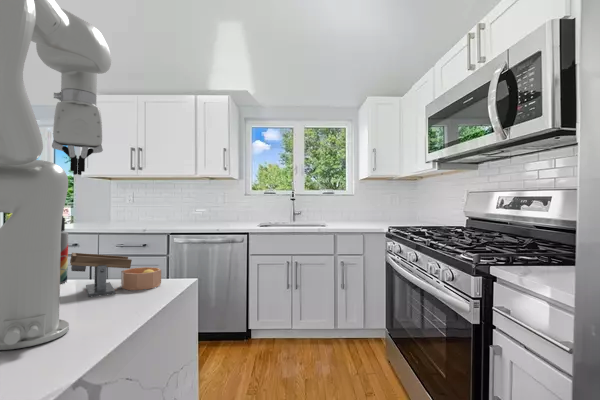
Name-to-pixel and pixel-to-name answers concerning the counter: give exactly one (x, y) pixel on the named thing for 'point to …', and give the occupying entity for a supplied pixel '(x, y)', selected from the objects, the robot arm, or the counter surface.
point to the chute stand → (100, 283)
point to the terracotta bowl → (140, 278)
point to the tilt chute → (97, 261)
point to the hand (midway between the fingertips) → (77, 174)
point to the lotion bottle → (64, 253)
